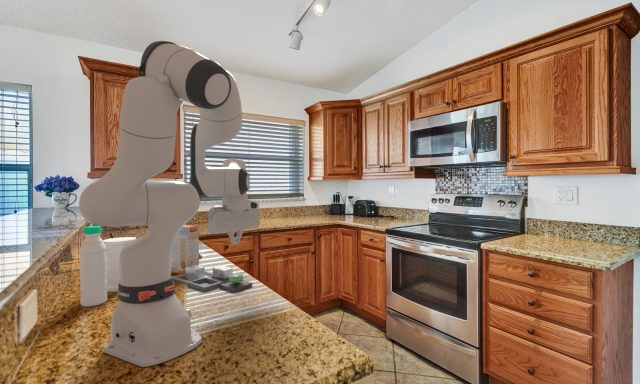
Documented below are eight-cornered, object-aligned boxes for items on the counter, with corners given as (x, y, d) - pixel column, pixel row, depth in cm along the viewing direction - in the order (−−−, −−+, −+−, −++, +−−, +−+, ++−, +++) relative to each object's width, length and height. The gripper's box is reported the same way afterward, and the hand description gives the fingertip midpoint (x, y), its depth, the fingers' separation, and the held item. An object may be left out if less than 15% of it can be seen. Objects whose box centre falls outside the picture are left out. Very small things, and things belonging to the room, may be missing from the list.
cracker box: (200, 273, 134) (199, 225, 134) (187, 277, 129) (186, 227, 129) (180, 269, 142) (179, 223, 142) (168, 272, 137) (167, 225, 136)
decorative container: (119, 281, 124) (118, 236, 124) (145, 282, 123) (144, 237, 122) (93, 291, 113) (92, 241, 113) (122, 292, 111) (121, 242, 111)
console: (252, 289, 113) (252, 282, 113) (233, 296, 106) (233, 288, 106) (238, 285, 118) (238, 279, 118) (220, 291, 111) (219, 284, 111)
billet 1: (204, 279, 124) (204, 267, 124) (195, 282, 121) (195, 269, 121) (195, 276, 128) (194, 264, 128) (185, 279, 125) (185, 266, 125)
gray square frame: (217, 279, 126) (217, 274, 126) (188, 287, 116) (188, 282, 116) (200, 274, 133) (200, 269, 133) (172, 281, 124) (172, 276, 124)
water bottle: (93, 308, 97) (91, 228, 96) (74, 306, 98) (72, 227, 98) (112, 300, 104) (111, 225, 103) (94, 298, 105) (93, 224, 105)
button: (246, 286, 112) (246, 275, 112) (234, 290, 108) (234, 278, 108) (237, 283, 115) (237, 272, 115) (226, 287, 111) (225, 276, 111)
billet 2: (232, 281, 119) (232, 268, 119) (223, 283, 116) (223, 270, 116) (221, 278, 123) (221, 265, 123) (212, 280, 120) (212, 267, 120)
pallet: (239, 284, 119) (239, 277, 119) (204, 295, 107) (204, 287, 107) (222, 279, 126) (222, 272, 126) (187, 289, 114) (187, 281, 114)
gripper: (214, 206, 101) (215, 249, 101) (262, 203, 117) (262, 240, 118) (203, 206, 105) (204, 246, 105) (251, 203, 121) (251, 238, 122)
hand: (235, 243), depth 112 cm, fingers closed
